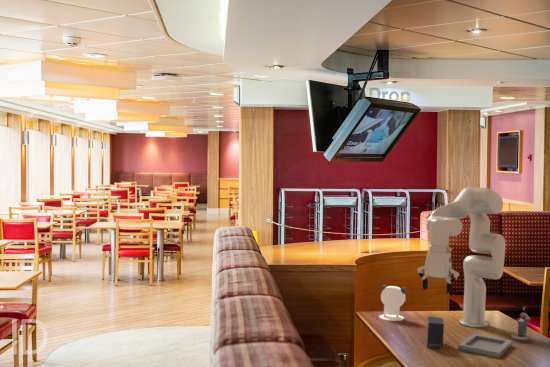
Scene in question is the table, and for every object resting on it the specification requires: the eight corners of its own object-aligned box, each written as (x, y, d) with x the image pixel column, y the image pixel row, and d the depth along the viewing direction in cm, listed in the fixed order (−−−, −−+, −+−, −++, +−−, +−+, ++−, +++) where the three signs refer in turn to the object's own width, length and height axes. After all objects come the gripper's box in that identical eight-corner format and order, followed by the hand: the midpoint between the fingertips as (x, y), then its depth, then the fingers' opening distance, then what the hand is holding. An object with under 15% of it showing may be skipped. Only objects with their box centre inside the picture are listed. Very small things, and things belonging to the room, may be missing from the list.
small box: (443, 349, 264) (444, 323, 263) (426, 348, 265) (427, 322, 264) (442, 342, 274) (443, 317, 273) (425, 340, 275) (427, 315, 275)
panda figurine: (407, 316, 314) (408, 285, 313) (402, 322, 303) (404, 290, 302) (382, 313, 318) (383, 282, 317) (377, 319, 307) (378, 287, 306)
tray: (473, 338, 280) (473, 333, 280) (511, 346, 271) (512, 340, 271) (457, 350, 263) (458, 344, 263) (498, 358, 254) (499, 352, 254)
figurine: (534, 339, 281) (535, 311, 281) (529, 344, 274) (530, 315, 274) (514, 335, 286) (515, 308, 286) (508, 340, 279) (509, 312, 279)
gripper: (462, 250, 265) (460, 292, 266) (421, 245, 275) (419, 286, 276) (456, 252, 259) (454, 295, 260) (414, 247, 269) (413, 289, 270)
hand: (436, 291), depth 268 cm, fingers open, 9 cm apart
